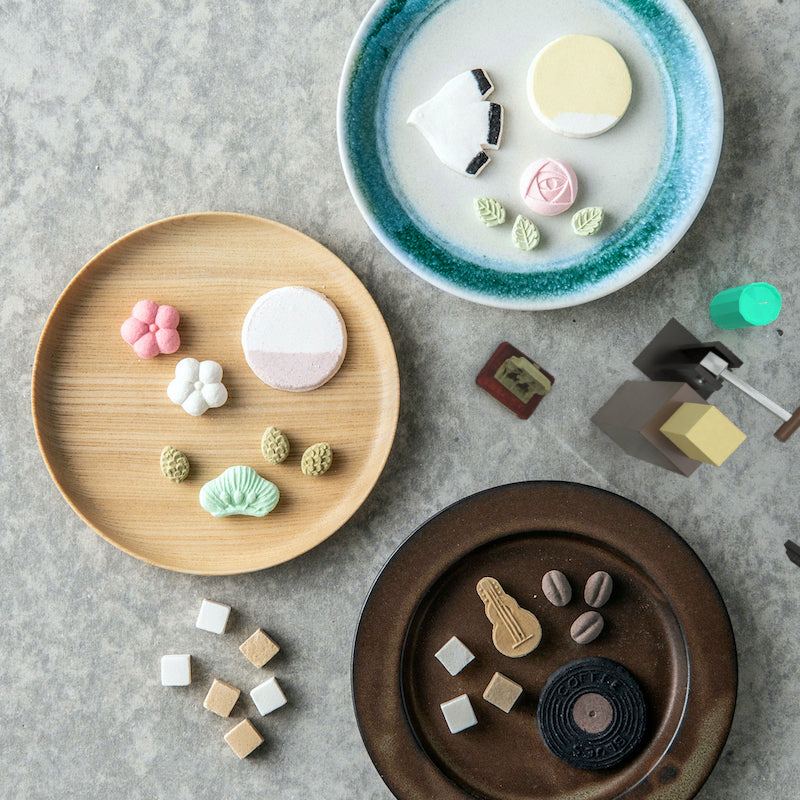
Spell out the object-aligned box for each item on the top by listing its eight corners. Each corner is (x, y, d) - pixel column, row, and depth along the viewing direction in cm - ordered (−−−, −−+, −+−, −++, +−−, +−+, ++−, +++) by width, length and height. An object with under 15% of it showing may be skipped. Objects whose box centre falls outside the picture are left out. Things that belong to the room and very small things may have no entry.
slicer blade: (812, 412, 91) (816, 408, 89) (783, 444, 92) (786, 441, 89) (717, 347, 97) (718, 341, 95) (690, 377, 97) (690, 372, 95)
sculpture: (470, 383, 108) (479, 385, 93) (501, 340, 108) (516, 335, 93) (522, 421, 108) (540, 429, 93) (554, 377, 108) (577, 379, 93)
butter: (715, 430, 84) (747, 436, 76) (689, 458, 84) (719, 467, 76) (684, 402, 84) (713, 405, 76) (658, 429, 84) (684, 435, 76)
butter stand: (663, 415, 108) (735, 428, 84) (626, 454, 108) (688, 478, 84) (624, 379, 108) (685, 382, 84) (588, 418, 108) (638, 432, 84)
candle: (702, 326, 107) (739, 320, 95) (710, 286, 107) (748, 276, 95) (742, 333, 107) (783, 328, 95) (749, 294, 107) (792, 284, 95)
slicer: (729, 370, 108) (776, 370, 94) (688, 415, 108) (729, 421, 94) (670, 317, 107) (708, 309, 94) (629, 362, 108) (661, 361, 94)
